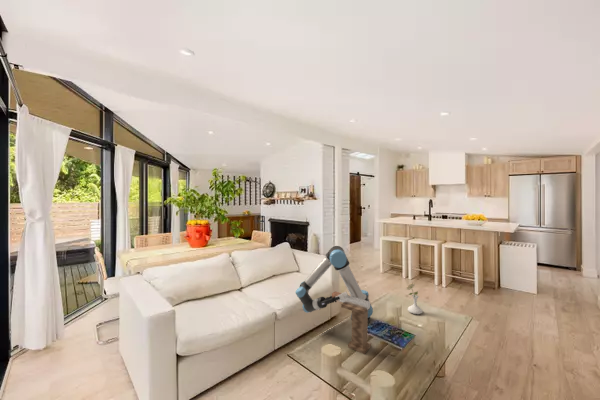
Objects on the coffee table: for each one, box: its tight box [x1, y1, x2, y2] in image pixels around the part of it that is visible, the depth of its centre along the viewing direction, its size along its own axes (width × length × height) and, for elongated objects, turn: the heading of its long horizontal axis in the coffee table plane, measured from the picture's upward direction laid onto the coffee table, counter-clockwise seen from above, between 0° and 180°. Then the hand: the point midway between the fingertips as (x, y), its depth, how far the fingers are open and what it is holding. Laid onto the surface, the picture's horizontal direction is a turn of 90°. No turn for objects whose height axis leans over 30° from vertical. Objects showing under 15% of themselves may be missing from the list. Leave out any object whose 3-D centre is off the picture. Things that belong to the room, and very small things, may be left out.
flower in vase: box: [406, 282, 423, 315], centre depth 222 cm, size 13×11×25 cm
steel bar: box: [331, 290, 371, 310], centre depth 180 cm, size 26×4×4 cm, turn 52°
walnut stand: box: [340, 302, 372, 355], centre depth 178 cm, size 17×10×28 cm, turn 52°
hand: (345, 294), depth 182 cm, fingers closed on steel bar, 4 cm apart
